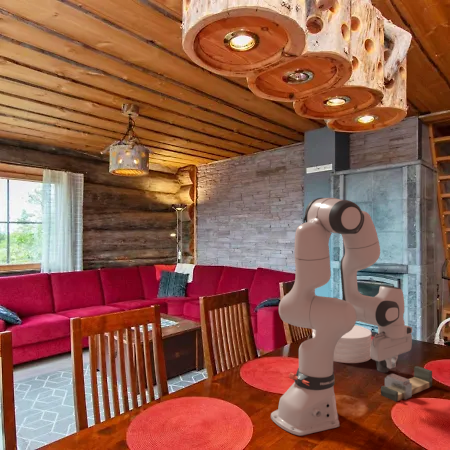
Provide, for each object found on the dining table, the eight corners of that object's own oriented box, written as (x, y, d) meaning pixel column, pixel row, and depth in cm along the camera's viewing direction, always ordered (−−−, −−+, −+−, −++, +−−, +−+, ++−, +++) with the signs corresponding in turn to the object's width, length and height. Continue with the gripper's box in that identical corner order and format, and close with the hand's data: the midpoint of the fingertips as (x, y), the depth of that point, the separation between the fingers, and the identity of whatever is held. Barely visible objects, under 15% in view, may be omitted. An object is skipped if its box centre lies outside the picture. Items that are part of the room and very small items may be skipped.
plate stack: (309, 342, 196) (309, 321, 196) (363, 345, 192) (363, 323, 192) (315, 361, 168) (315, 336, 169) (378, 364, 165) (378, 339, 165)
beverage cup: (393, 374, 153) (393, 327, 154) (375, 373, 155) (375, 326, 155) (389, 368, 160) (389, 322, 161) (372, 366, 162) (372, 321, 162)
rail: (396, 401, 129) (396, 384, 129) (380, 395, 134) (380, 378, 134) (432, 386, 142) (432, 370, 142) (416, 380, 147) (416, 366, 147)
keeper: (405, 399, 130) (405, 382, 130) (384, 391, 137) (384, 375, 137) (411, 396, 132) (411, 380, 132) (390, 388, 139) (390, 372, 139)
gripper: (381, 337, 124) (381, 377, 124) (415, 327, 135) (415, 364, 135) (365, 332, 129) (365, 371, 130) (399, 323, 140) (399, 358, 140)
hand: (391, 367), depth 132 cm, fingers closed
